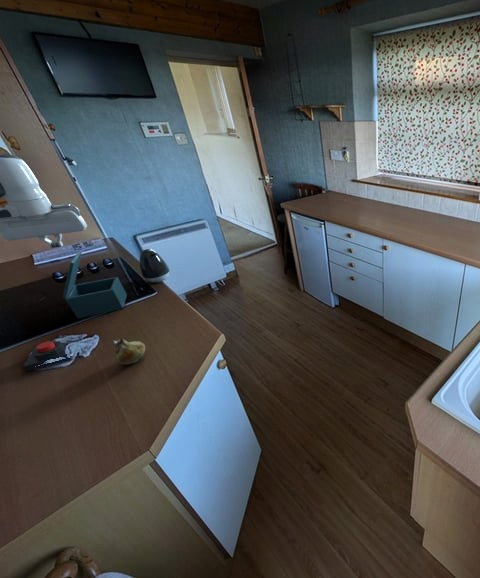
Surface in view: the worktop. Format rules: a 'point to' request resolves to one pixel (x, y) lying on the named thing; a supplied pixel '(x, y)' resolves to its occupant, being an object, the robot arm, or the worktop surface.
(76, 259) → the lid
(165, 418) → the worktop surface
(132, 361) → the onion
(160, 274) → the black egg-shaped dome
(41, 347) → the button
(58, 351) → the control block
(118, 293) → the tin
